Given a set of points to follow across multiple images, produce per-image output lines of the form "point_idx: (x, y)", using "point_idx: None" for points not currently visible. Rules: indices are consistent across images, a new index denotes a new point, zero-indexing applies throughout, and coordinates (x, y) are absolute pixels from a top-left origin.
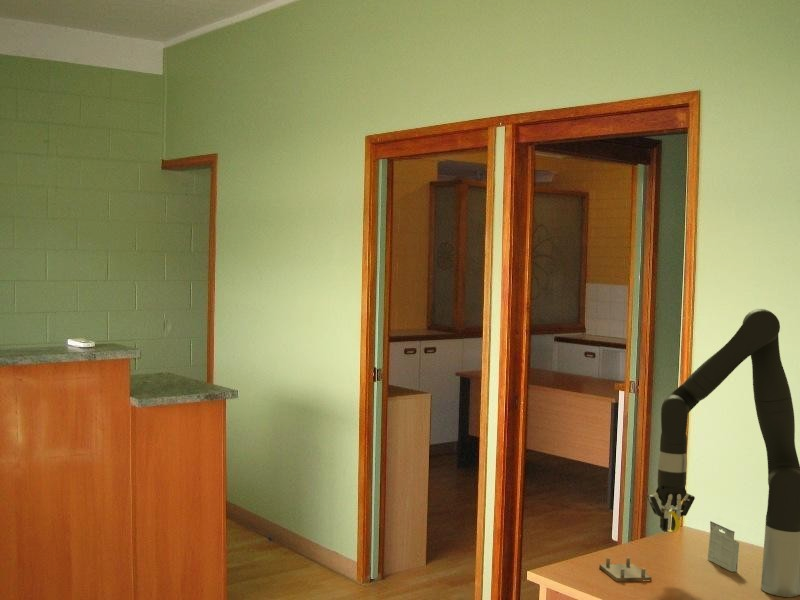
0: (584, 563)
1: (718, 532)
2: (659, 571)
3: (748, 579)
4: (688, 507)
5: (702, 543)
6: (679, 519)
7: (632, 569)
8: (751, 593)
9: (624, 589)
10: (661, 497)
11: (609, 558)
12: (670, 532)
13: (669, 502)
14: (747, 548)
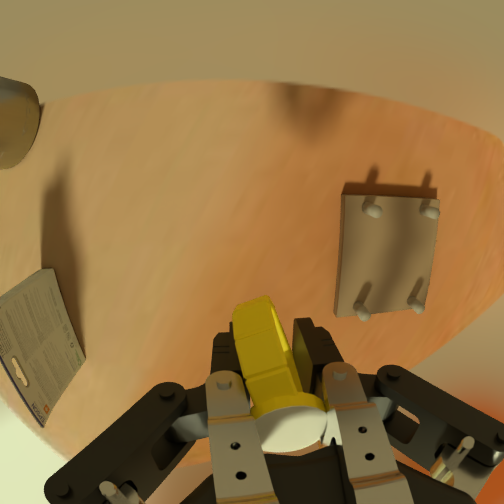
0: (429, 331)
1: (31, 380)
2: (266, 281)
3: (33, 212)
4: (124, 430)
5: (80, 432)
6: (210, 373)
7: (365, 269)
8: (74, 95)
9: (438, 141)
10: (440, 483)
11: (418, 308)
12: (274, 314)
13: (365, 459)
14: (12, 392)
